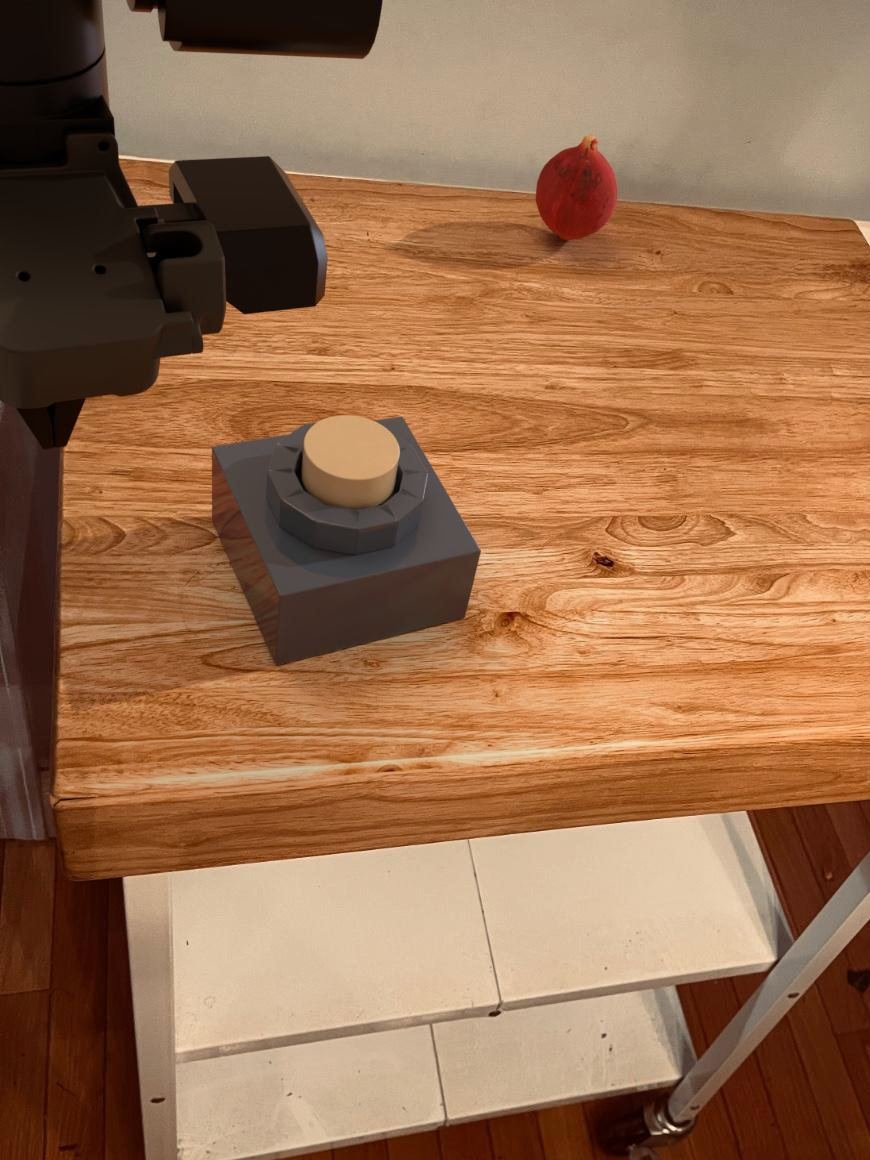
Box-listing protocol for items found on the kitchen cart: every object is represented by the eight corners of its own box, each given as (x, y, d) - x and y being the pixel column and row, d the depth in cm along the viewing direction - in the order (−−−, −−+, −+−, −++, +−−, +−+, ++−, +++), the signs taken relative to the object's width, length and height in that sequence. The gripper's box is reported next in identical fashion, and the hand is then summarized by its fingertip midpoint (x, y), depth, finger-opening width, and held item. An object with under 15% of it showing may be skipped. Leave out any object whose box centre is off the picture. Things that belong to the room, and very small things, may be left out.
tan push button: (320, 518, 54) (323, 487, 53) (288, 454, 57) (290, 422, 55) (409, 501, 57) (414, 470, 55) (374, 439, 59) (379, 408, 57)
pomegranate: (602, 270, 86) (631, 169, 80) (524, 252, 85) (547, 148, 79) (604, 227, 89) (631, 127, 84) (529, 209, 88) (551, 107, 83)
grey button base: (275, 666, 57) (281, 569, 51) (211, 520, 62) (211, 417, 56) (465, 618, 61) (488, 524, 56) (391, 486, 66) (406, 389, 61)
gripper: (-400, 220, 25) (-209, 663, 37) (411, 173, 34) (362, 542, 46) (-422, -26, 31) (-250, 425, 42) (282, -12, 40) (267, 358, 51)
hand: (52, 441), depth 45 cm, fingers closed
